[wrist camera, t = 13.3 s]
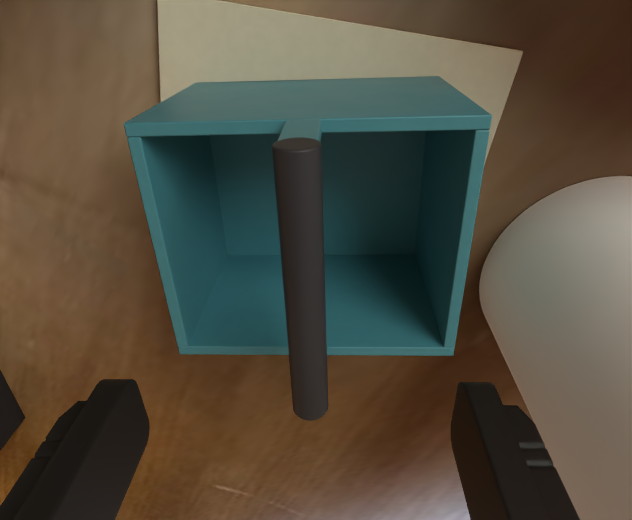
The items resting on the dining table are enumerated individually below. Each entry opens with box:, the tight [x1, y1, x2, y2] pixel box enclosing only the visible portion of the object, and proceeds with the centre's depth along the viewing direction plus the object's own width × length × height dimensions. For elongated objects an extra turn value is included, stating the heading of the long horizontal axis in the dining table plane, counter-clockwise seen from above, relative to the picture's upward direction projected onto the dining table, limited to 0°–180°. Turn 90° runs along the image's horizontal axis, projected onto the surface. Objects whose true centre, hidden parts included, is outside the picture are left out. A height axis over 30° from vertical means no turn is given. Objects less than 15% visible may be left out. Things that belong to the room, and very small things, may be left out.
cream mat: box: [157, 0, 523, 164], centre depth 26 cm, size 18×16×1 cm
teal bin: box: [124, 76, 492, 420], centre depth 20 cm, size 13×11×13 cm
